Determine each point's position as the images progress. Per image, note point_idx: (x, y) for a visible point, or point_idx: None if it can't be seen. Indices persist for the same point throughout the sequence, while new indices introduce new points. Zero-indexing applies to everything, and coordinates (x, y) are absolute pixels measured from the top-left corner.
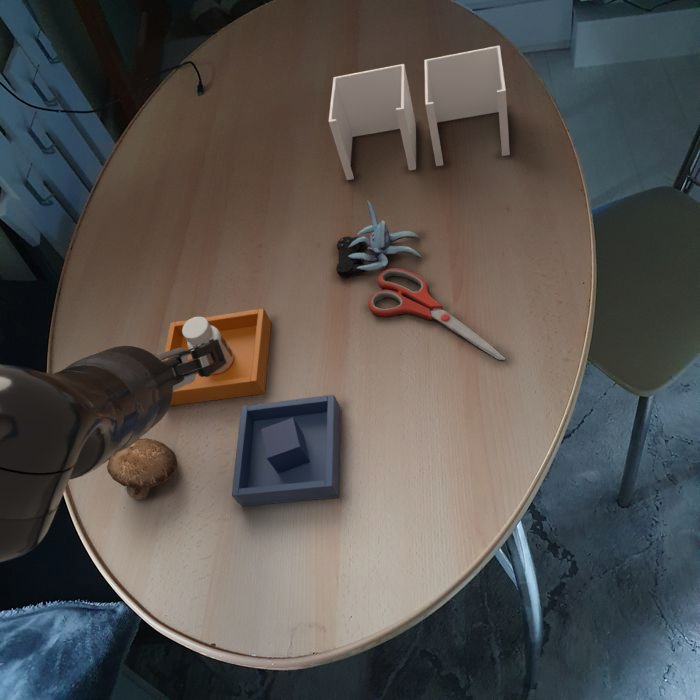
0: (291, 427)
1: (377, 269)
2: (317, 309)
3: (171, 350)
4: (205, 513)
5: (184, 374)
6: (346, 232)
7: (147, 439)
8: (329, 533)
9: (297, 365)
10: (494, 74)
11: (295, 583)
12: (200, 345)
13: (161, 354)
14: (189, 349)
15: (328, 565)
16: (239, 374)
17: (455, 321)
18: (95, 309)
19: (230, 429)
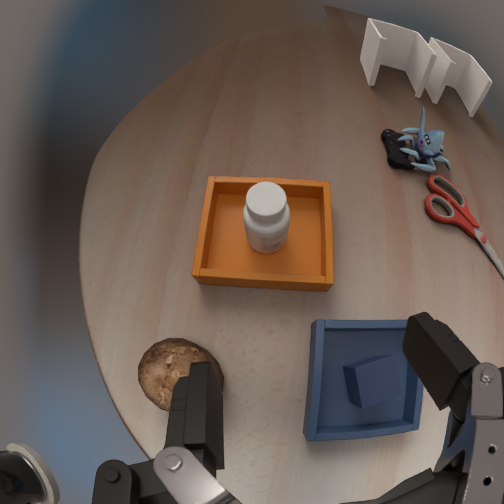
0: (393, 368)
1: (428, 171)
2: (374, 194)
3: (496, 443)
4: (258, 434)
5: (462, 469)
6: (382, 125)
7: (185, 347)
8: (391, 457)
9: (362, 260)
10: (462, 67)
11: (354, 497)
12: (499, 373)
13: (496, 488)
14: (502, 406)
15: (386, 482)
16: (295, 259)
17: (489, 245)
18: (126, 151)
19: (285, 334)
